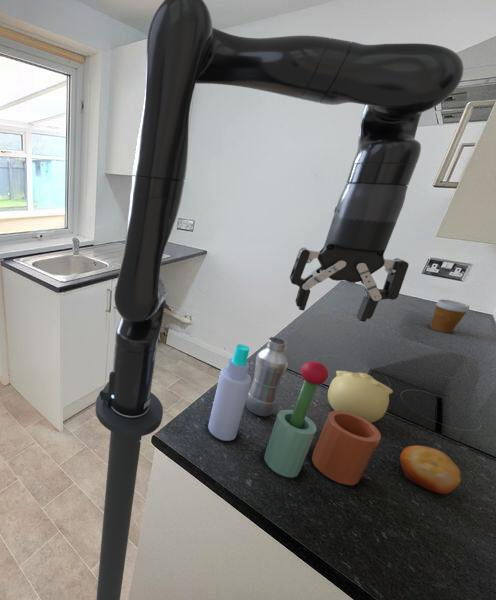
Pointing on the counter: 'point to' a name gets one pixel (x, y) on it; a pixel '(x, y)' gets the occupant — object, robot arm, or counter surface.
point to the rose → (308, 390)
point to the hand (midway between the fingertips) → (329, 314)
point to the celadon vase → (289, 445)
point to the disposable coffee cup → (448, 315)
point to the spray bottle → (230, 396)
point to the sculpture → (359, 395)
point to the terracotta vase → (345, 447)
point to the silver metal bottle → (267, 377)
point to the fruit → (430, 469)
